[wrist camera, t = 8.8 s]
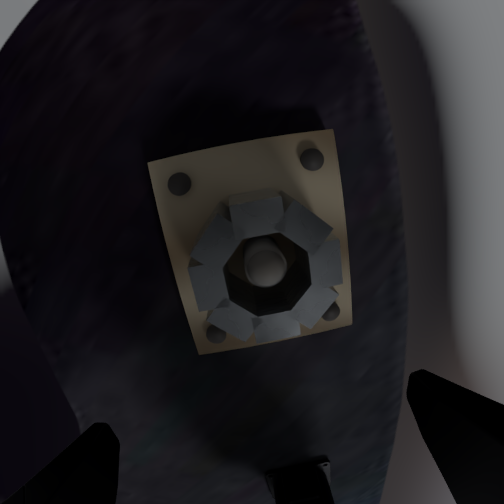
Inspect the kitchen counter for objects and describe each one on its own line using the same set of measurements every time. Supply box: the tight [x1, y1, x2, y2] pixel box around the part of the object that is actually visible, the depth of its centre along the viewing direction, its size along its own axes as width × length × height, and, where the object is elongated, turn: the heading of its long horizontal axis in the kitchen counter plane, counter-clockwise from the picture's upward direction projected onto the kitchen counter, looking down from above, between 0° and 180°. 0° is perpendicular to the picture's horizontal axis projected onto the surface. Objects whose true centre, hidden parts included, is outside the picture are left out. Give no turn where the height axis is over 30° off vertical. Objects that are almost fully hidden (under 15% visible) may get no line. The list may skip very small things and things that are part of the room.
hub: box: [187, 188, 343, 344], centre depth 16 cm, size 7×7×4 cm
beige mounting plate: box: [148, 129, 352, 355], centre depth 16 cm, size 12×10×5 cm
